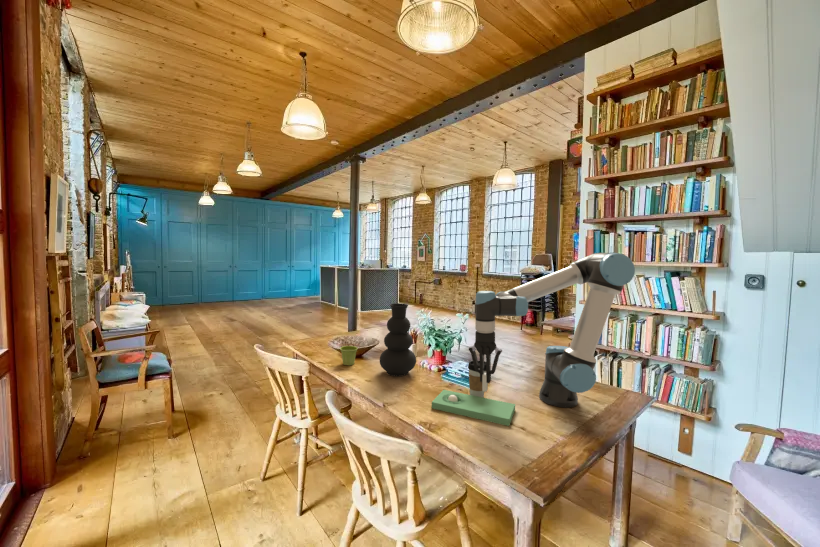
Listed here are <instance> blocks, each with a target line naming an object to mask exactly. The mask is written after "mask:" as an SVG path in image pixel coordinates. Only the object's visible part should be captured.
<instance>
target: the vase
mask: <svg viewBox="0 0 820 547" xmlns="http://www.w3.org/2000/svg"><path fill="white" fill-rule="evenodd" d="M389 306H390V308H391V316H390V317H389V318H388V320H387V322H386V328H387V330H388V331H389V332H388V333H386V335H384V339H383V343H384V346H385V347H386V349H385V350H383V351H382V352H381V354H380V356H379V365H380V367H381V368H382V369H383V371H385V372H386V374H387V375H388V376H392V377H403V376H404V377H405V376H407V375H408V374H409V373H410V371H412V370H413V369H414V367H415V366H416V362H417V357H416V355H415V353H414V352H413V351H412V350H411V349H410V348H411V346H412V345H413V341H414V340H413V338H412V335H411V334H410V333H409V331H410V329H411V322H410V319H408V317H407V308H408V307H409V304H407V303H396V302H395V303H390V304H389Z"/></svg>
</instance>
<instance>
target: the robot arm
mask: <svg viewBox="0 0 820 547" xmlns="http://www.w3.org/2000/svg"><path fill="white" fill-rule="evenodd" d="M635 268H636V267H635V264H634V262H633V261H632V259H631V258H630V257H629V256H628V255H626V254H624V253H619V252H596V253H595V252H594V253H592V254H589V255H587V256H585V257H582V258H580V259H577V260H576V261H573V262H571V263H570V264H569V266H567V267H565V268H562V269H560V270H556V271H554V272H552V273H549V274H547V275H544V276H541V277H539V278H537V279H534V280H532V281H528V282H526V283H524V284H521V285H519V286H516V287H513V288H511V289H508V290H505V291H504V290H503V291H499V292H497V293H496V292H495V291H492V290H480V291H477V292H476V294H475V303H474V304H475V306H474V307H475V308H474V309H475V314H474V315H475V321H474V322H475V326H474V330H476V331H475V333H474V334H475V335H474V336H475V339H474V341H475V342H474V344H473V345H471V346H470V347H469V348H468V351H469V353H470V354H471V359H472V360H471V361H473V364H474V368H475V371H476V372H478V373H480V382H482V391H484V393H485V392H487V391H488V389H489V388H488V387H489V384H490V382H491V375H494V374H495V373H496V370H497V366H498V363H499V359H500V358H499V357H500V355H501V354H502V353H503V349H501V348H498V347H497V344H496V332H495V330H496V317H502V316H503V317H524V316H527V314H528V312H529V302H531V301H535V300H537V299H539V298H543V297H544V296H547V295H549V294H552V293H555V292H557V291H561V290H563V289H566V288H568V287H571V286H574V285H576V284H577V285H583V284H586V283H587V285H588V287H589V291H588V295H587V297H586V300H585V302H584V305H583V308H582V311H581V313H580V317H579V318H578V319H579V320H578V322H577V325H576V328H575V331H574V334H573V336H572V339H571V343H570V345H569V346H564V345H550V346H549V345H548V346H547V347H546V348H545V353H544V354H545V360H544V361H545V362H544V364H545V365H544V380H543V383H542V384H541V387H540V390H539V395H538V397H539V400H541V401H542V402H543V403H546V404H548V405H551V406H554V407H559V408H574V407H577V405H578V404H579V403H578V401H579V397H578V394H580V393H581V394H583V393H585V392H588V391H590V390H591V389H593V387H594V386H595V384H596V383H597V382H596V381H597V375H596V372H595V370H594V369H595V366H596V364H597V360H596V358H595V351H596V350H597V346H598V344H599V341H600V338H601V336H602V333H603V331H604V327H605V325H606V321H607V318H608V317H609V313H610V310H611V307H612V305H613V302H614V299H615V297H616V296H617V295H619V294H620V293H622V291H623V289H624V286H625V285H627V284H629V283H630V282H631V281H632V280H634V279H633V278H634V277H635V273H636V269H635ZM476 351H477V352H478V354H479V360H478V356H477V352H476ZM494 351H495V352H494ZM493 352H494V354H495V355H494V359H493V363H491V362H492V361H491V359H492V358H491V356H492V354H493ZM478 361H480V368H479V364H478ZM484 361H485V362H486V373H484ZM491 364H492V365H491ZM577 393H578V394H577Z"/></svg>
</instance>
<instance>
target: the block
mask: <svg viewBox="0 0 820 547" xmlns="http://www.w3.org/2000/svg"><path fill="white" fill-rule="evenodd" d="M450 395H455V396H456V397H457V399H458V402H452V401H449V400H448V397H449V396H450ZM431 409H434V410H436V411H437V410H438V411H442V412H446V413H450V414H455V415H459V416H463V417H464V416H465V417H467V418H468V417H469V418H472V419H477V420H482V421H485V422H490V423H495V424H499V425H502V426H507V427H509V426H510V425H511V422H512V420H513V417H514V414H515V411H516V403H511V402H506V401H501V400H497V399H493V398H492V399H491V398H486V397H484V398H482V397H478V396H473V395H470V394H467V393H462V392H457V391H452V390H448V389H443V390H442V391H441V392H440V393H439V394H437V396H436V397H435V398H434V399H433V400H432V401H431Z"/></svg>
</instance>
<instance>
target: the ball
mask: <svg viewBox="0 0 820 547" xmlns="http://www.w3.org/2000/svg"><path fill="white" fill-rule="evenodd" d="M448 400H449V401H452V402H458V399H457V397H456V396H455V395H450V396H449V397H448Z"/></svg>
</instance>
